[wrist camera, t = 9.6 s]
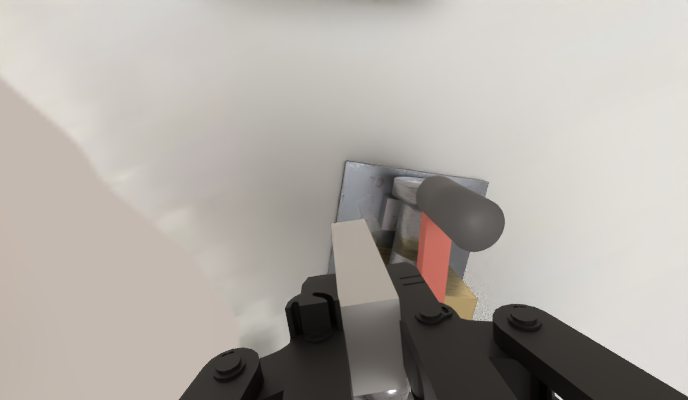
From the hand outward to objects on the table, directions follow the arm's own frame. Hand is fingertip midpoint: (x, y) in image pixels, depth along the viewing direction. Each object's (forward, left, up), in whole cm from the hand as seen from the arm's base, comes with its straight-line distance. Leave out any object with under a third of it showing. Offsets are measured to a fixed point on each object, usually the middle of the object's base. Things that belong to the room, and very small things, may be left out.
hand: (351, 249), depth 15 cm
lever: (-5, -7, -8) cm, 11 cm away
